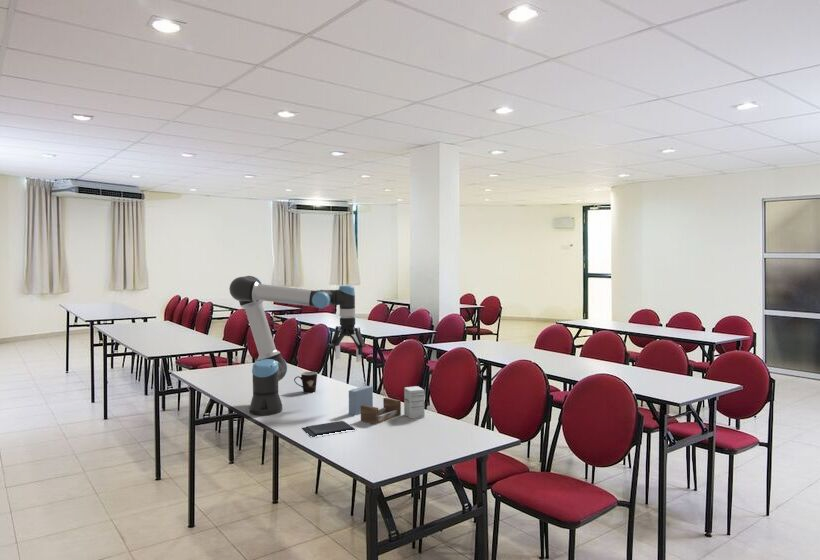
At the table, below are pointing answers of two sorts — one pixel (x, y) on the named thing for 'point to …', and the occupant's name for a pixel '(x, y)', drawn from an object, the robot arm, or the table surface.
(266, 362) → the robot arm
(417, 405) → the supplement box
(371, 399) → the blue-grey rectangular block
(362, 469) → the table surface
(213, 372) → the table surface
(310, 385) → the coffee mug
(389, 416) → the track frame
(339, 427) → the wallet
